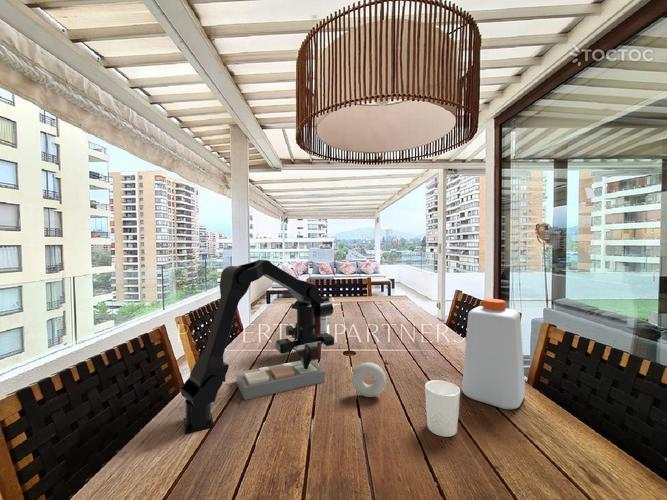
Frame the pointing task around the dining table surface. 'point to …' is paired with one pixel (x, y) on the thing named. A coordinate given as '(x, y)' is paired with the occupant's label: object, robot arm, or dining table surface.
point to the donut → (365, 388)
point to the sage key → (303, 371)
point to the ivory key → (256, 377)
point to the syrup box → (325, 325)
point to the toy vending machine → (316, 332)
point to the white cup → (442, 407)
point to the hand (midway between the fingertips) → (305, 368)
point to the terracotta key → (281, 372)
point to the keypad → (278, 381)
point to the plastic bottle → (494, 356)
